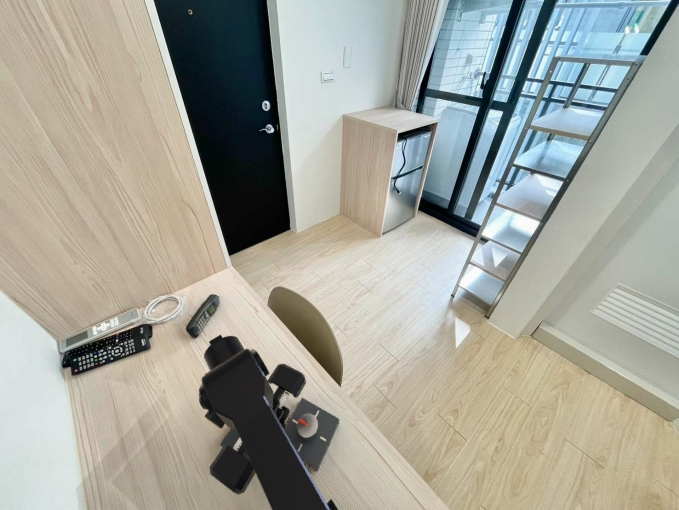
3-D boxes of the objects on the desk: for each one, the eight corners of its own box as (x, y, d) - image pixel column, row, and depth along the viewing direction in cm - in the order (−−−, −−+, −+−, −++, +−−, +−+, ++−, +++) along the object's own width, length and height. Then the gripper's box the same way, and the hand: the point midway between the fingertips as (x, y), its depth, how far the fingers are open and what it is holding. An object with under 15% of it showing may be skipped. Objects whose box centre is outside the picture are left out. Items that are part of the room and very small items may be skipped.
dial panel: (317, 470, 57) (316, 468, 54) (279, 445, 60) (276, 441, 58) (339, 422, 63) (339, 418, 61) (303, 401, 66) (302, 397, 64)
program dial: (322, 424, 60) (321, 419, 57) (312, 446, 57) (310, 441, 54) (305, 415, 61) (303, 409, 58) (295, 435, 59) (292, 430, 56)
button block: (261, 475, 56) (256, 472, 53) (222, 447, 60) (216, 443, 57) (288, 426, 63) (286, 421, 60) (252, 403, 66) (248, 397, 63)
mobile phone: (191, 331, 75) (219, 289, 85) (181, 329, 75) (211, 287, 85) (198, 339, 78) (224, 298, 88) (189, 337, 79) (216, 296, 89)
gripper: (251, 334, 49) (268, 370, 60) (164, 443, 37) (204, 463, 48) (303, 360, 46) (310, 393, 57) (224, 490, 34) (253, 501, 45)
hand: (272, 432), depth 52 cm, fingers closed
